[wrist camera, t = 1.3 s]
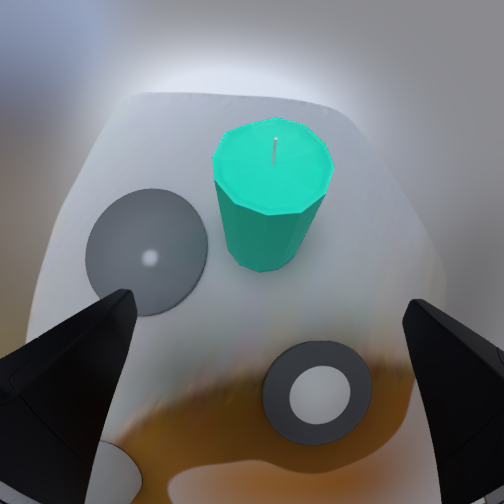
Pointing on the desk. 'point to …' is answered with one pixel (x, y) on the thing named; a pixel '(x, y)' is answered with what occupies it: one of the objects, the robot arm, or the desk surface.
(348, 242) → the desk surface
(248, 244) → the candle
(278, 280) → the desk surface
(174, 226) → the slate coaster
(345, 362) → the dark grey washer
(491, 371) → the robot arm
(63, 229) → the desk surface
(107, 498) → the mug
